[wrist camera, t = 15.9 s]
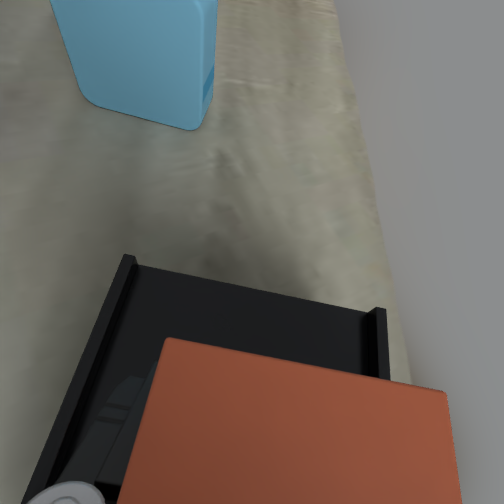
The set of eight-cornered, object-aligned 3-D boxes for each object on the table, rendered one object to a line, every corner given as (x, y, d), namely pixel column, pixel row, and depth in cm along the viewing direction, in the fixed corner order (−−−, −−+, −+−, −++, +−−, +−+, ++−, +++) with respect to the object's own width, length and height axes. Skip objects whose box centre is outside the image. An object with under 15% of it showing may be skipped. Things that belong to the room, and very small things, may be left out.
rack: (36, 622, 15) (-99, 790, 8) (145, 305, 23) (123, 252, 16) (321, 661, 16) (419, 844, 9) (330, 342, 24) (386, 308, 17)
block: (147, 536, 11) (22, 819, 3) (182, 390, 13) (165, 335, 5) (290, 559, 11) (517, 870, 3) (300, 412, 13) (448, 391, 6)
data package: (212, 107, 34) (220, -31, 24) (201, 135, 32) (204, -5, 22) (103, 78, 34) (62, -77, 23) (83, 103, 32) (29, -55, 21)
